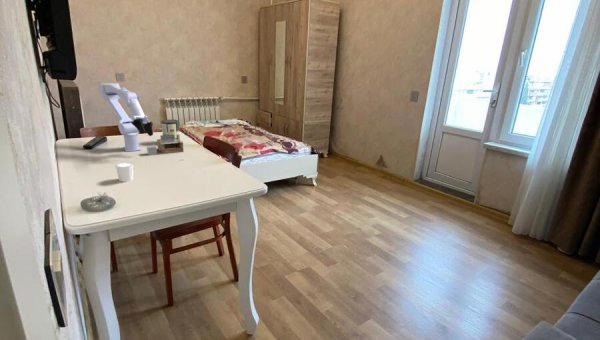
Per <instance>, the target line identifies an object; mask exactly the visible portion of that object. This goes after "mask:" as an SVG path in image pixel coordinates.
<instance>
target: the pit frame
mask: <svg viewBox="0 0 600 340" xmlns="http://www.w3.org/2000/svg"><path fill="white" fill-rule="evenodd" d="M160 139H161V138H160ZM160 139H157V140H156V144H157V149H158V151H159V152H160V153H161V154H162V155H165V154H175V153H184V142H183V141H181V140H179V139H178V138H175V139H176V140H177V141H179V143H170V144H163V143H162V142H161V141H160Z"/></svg>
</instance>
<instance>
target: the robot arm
mask: <svg viewBox="0 0 600 340" xmlns="http://www.w3.org/2000/svg"><path fill="white" fill-rule="evenodd" d="M98 91H99V94H100V95H101V97H102V98H103V99H104V100H105V101H106V102H107V104H108V105H109V107H110V108H111V109H112V111H113V113H114V114H115V116H116V117H117V120H119V121H118V124H117V127H118V130H119V132H120V134H121V135H122V136H123V139H124V147H123V149H124V151H125V152H136V151H142V148H141V147H140V144H139V135H140V134H142V135H143V134H145V133H147V135H148V136H149V137H151V136H153V135H154V132H153V124H154V123H153V122H152V121H150V120H149V119H148V118H149V115H145V113H144V111H143V108H142V107H141V104H140V102H139V100H140V99H139V95H138V93H137V92H136V91H133V92H132V91H130V90H128V89H127V88H126V87H120V84H119V83H117V82H114V83H99V84H98ZM121 99H122V100H123V102H124V104H125V105H126V107H128V109H129V111H130V113H131V116H129V115H128V114H127V112H126V111H125V110H124V107H123V106H122V104H121V103H120V102H119V100H121Z"/></svg>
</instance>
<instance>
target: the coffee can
mask: <svg viewBox="0 0 600 340" xmlns="http://www.w3.org/2000/svg"><path fill="white" fill-rule="evenodd" d="M160 123H161V132H162V135H173V134H174V136H175V138H178V139H179V140H180V139H181V138H180V125H179V124H180V123H179V120H178V119H163V120H161V121H160ZM180 141H181V140H180Z"/></svg>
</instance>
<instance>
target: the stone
mask: <svg viewBox="0 0 600 340" xmlns="http://www.w3.org/2000/svg"><path fill="white" fill-rule="evenodd" d="M157 151H158V150H157V146H156V145H146V154H147V155H148V156H156V155H158V152H157Z"/></svg>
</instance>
